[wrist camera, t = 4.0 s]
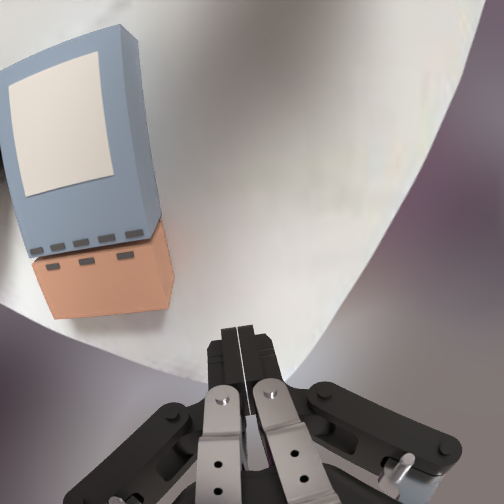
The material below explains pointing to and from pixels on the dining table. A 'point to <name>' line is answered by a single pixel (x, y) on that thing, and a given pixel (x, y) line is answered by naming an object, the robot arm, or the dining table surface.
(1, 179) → the supplement bottle
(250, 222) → the dining table surface
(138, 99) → the block
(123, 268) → the tan rectangular block
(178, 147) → the dining table surface
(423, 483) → the robot arm
